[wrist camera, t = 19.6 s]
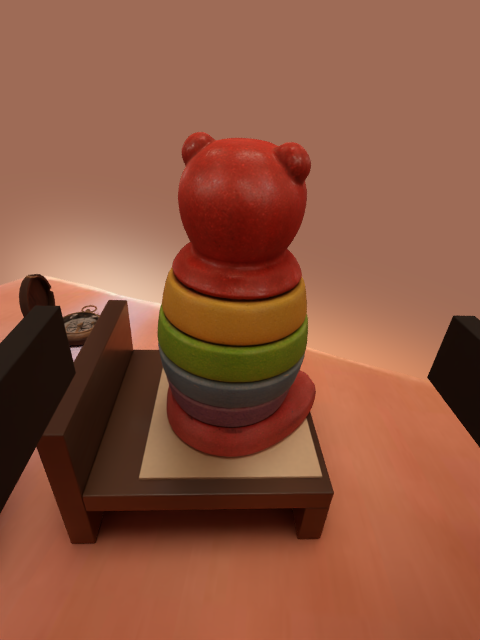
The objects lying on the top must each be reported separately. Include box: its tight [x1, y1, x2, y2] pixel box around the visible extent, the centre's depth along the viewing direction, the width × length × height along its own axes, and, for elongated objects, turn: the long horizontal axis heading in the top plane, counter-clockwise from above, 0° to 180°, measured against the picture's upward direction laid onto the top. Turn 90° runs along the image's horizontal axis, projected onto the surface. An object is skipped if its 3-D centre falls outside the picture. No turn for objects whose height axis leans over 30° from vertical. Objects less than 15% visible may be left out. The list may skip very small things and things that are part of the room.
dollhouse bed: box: [36, 300, 334, 544], centre depth 26 cm, size 16×14×10 cm
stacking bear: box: [158, 132, 316, 457], centre depth 22 cm, size 11×10×18 cm
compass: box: [19, 274, 100, 345], centre depth 41 cm, size 8×8×7 cm
